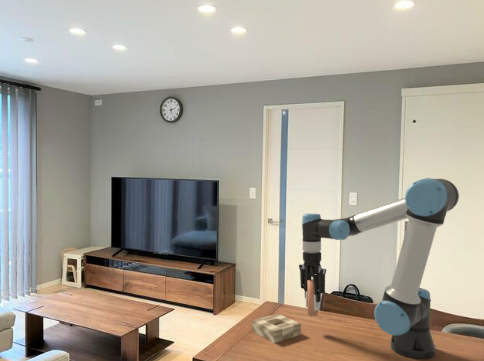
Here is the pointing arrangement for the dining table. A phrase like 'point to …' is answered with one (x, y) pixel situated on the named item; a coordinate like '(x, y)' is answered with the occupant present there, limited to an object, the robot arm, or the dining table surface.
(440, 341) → the dining table surface
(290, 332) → the socket block
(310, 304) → the peg
